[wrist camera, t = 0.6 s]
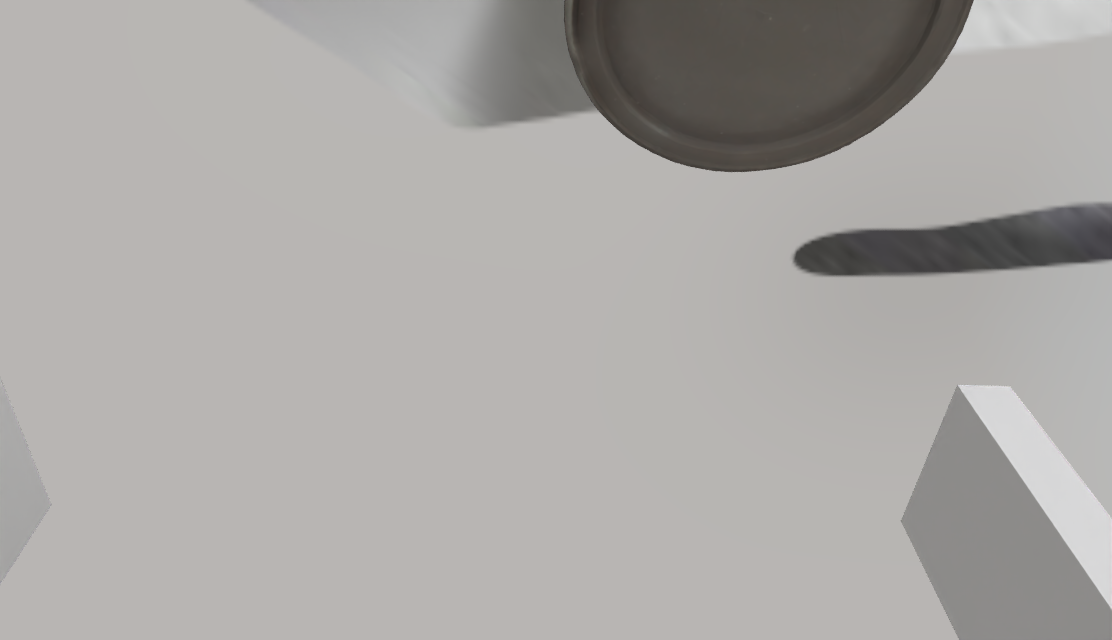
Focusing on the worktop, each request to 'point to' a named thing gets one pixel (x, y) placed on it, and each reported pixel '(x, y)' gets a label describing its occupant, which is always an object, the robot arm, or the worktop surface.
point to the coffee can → (756, 72)
